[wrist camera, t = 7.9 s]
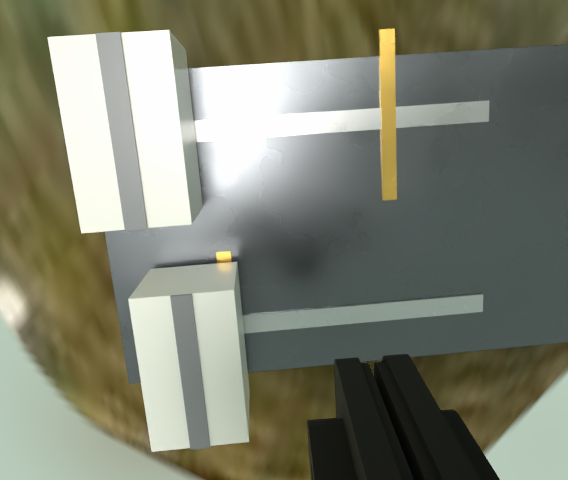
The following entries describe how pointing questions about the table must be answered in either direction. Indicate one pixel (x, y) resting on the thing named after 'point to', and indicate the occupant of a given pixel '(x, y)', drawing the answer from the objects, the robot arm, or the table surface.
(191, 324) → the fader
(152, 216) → the block
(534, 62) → the console
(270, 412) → the table surface
